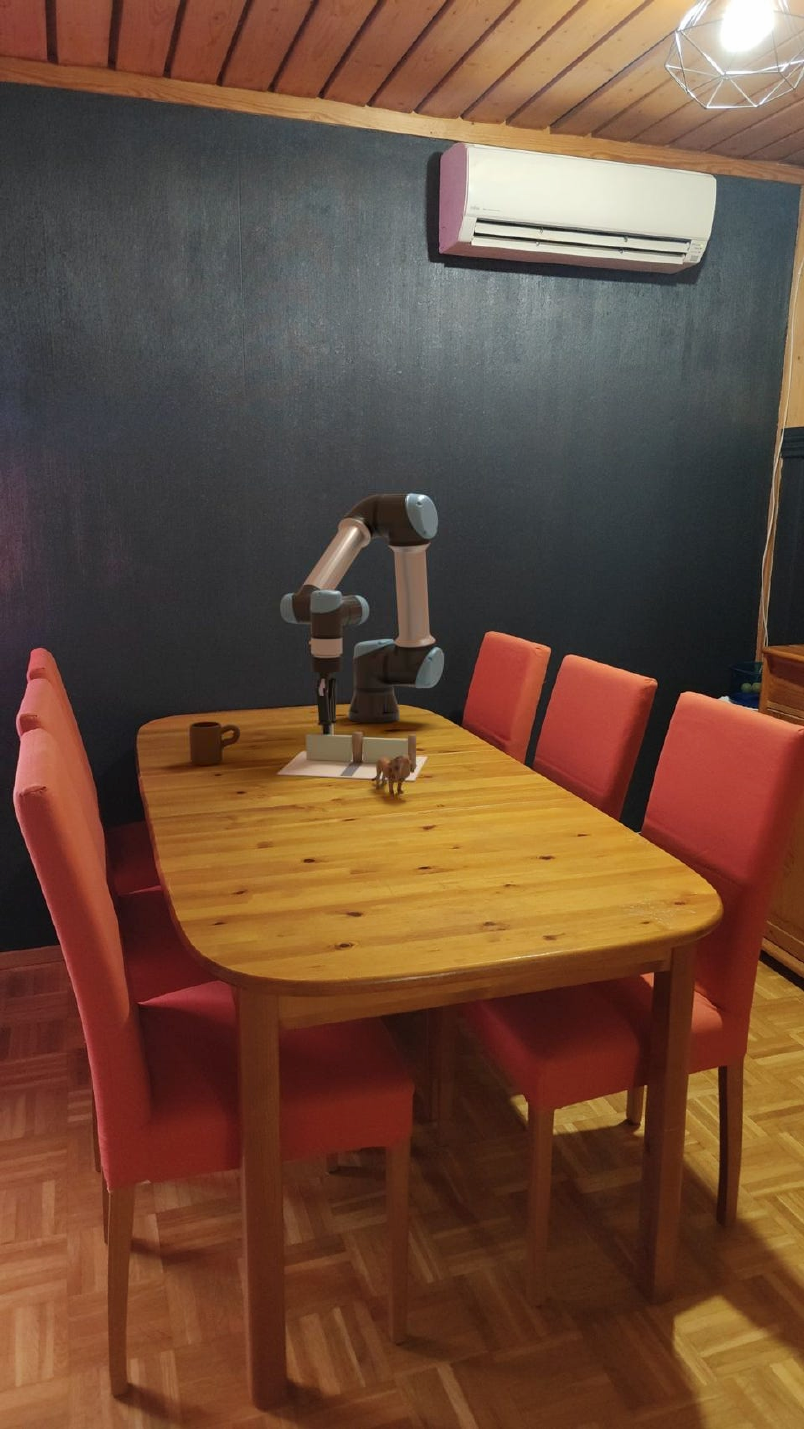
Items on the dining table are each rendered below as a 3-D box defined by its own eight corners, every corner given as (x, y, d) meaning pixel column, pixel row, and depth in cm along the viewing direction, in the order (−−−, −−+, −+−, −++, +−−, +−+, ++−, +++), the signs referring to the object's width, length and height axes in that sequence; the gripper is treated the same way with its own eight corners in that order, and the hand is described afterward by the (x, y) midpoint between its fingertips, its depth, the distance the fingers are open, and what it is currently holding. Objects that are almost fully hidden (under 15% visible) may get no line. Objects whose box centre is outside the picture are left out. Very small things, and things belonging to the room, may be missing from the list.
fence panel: (308, 757, 235) (307, 733, 234) (352, 759, 233) (351, 735, 232) (306, 759, 234) (306, 735, 232) (350, 761, 232) (350, 736, 231)
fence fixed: (353, 760, 234) (353, 731, 232) (416, 763, 231) (417, 734, 230) (351, 762, 232) (351, 733, 230) (415, 765, 229) (415, 736, 228)
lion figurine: (419, 796, 206) (420, 755, 204) (399, 800, 202) (399, 759, 201) (380, 781, 217) (380, 742, 215) (360, 784, 214) (360, 745, 212)
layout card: (302, 752, 243) (302, 751, 243) (427, 757, 238) (427, 756, 238) (276, 775, 222) (276, 773, 222) (414, 781, 217) (414, 780, 216)
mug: (240, 757, 238) (239, 719, 236) (241, 764, 231) (240, 726, 229) (190, 759, 236) (189, 721, 234) (190, 767, 228) (189, 728, 226)
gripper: (318, 651, 238) (319, 743, 243) (304, 658, 226) (306, 756, 231) (347, 652, 237) (348, 745, 242) (335, 659, 225) (336, 757, 229)
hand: (327, 750), depth 236 cm, fingers closed
